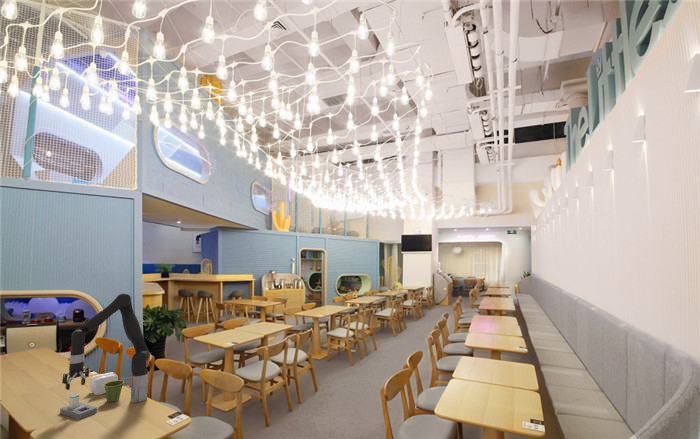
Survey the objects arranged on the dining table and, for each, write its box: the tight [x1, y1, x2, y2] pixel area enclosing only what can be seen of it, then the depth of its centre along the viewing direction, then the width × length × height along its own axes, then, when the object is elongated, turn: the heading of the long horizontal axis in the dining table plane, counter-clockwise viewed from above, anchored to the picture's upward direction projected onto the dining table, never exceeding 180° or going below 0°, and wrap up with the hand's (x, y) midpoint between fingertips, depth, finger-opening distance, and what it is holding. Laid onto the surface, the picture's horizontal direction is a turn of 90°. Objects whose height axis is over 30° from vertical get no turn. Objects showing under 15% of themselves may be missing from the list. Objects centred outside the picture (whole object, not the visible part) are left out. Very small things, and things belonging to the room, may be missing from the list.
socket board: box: [59, 402, 98, 420], centre depth 218 cm, size 20×10×3 cm, turn 67°
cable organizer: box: [89, 371, 119, 396], centre depth 252 cm, size 15×11×12 cm
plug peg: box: [68, 393, 80, 409], centre depth 220 cm, size 4×4×10 cm
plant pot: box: [104, 379, 125, 403], centre depth 237 cm, size 12×12×11 cm
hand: (75, 387), depth 221 cm, fingers open, 8 cm apart
